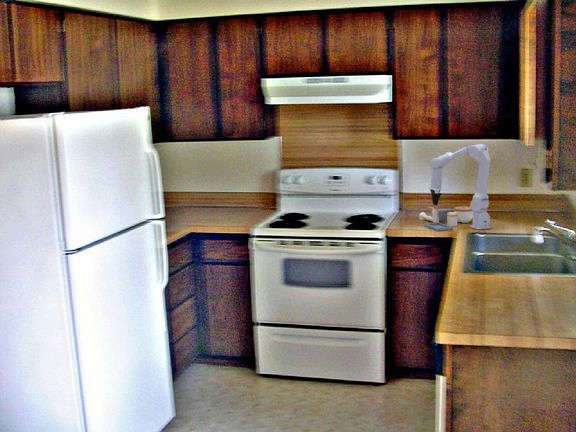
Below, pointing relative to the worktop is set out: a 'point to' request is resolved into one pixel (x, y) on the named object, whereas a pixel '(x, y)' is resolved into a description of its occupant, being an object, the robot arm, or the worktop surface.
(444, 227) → the tray
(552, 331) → the worktop surface
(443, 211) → the block
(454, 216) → the cartridge
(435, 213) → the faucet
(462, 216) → the lidded jar
